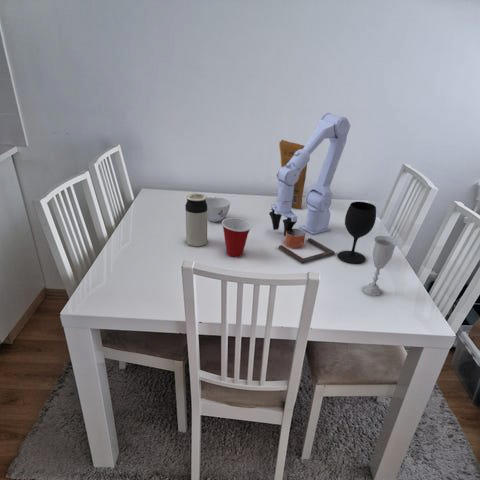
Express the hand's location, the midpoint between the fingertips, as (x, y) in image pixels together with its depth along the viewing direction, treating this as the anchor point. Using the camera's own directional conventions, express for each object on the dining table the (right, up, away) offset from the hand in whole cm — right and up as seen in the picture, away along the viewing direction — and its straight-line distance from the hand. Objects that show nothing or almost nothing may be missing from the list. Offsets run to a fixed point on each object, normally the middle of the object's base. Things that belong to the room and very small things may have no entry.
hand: (281, 232), depth 168 cm
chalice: (+27, -26, -32) cm, 49 cm away
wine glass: (+25, -12, -12) cm, 30 cm away
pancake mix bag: (+7, +21, +33) cm, 39 cm away
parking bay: (+8, -9, -9) cm, 15 cm away
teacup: (-28, +9, +13) cm, 32 cm away
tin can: (+5, -6, -5) cm, 9 cm away
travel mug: (-33, -6, -8) cm, 35 cm away
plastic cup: (-18, -11, -14) cm, 26 cm away
